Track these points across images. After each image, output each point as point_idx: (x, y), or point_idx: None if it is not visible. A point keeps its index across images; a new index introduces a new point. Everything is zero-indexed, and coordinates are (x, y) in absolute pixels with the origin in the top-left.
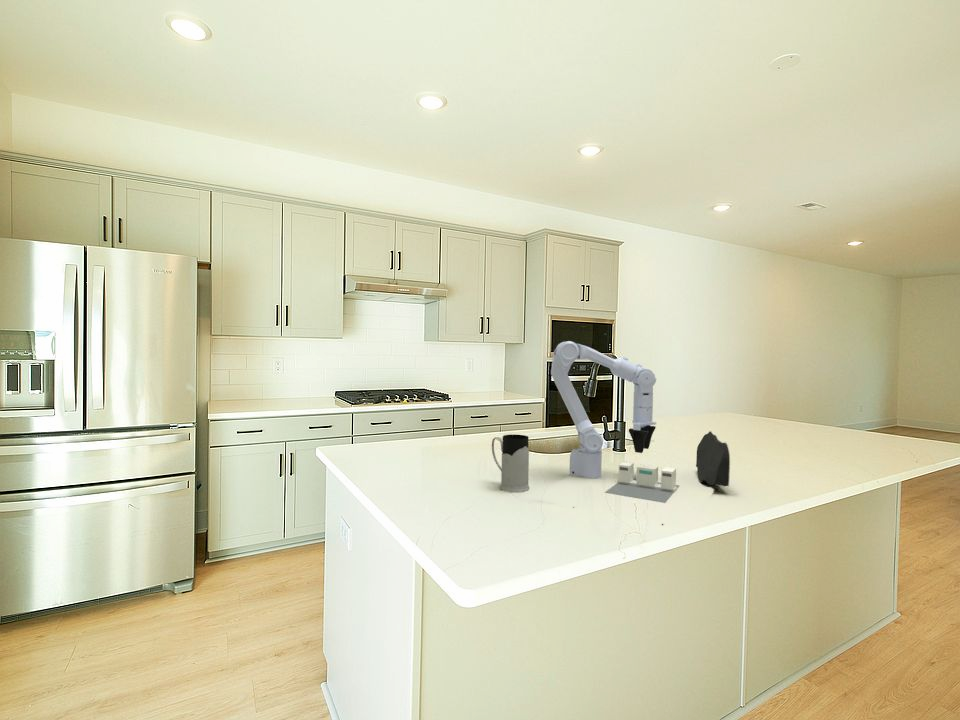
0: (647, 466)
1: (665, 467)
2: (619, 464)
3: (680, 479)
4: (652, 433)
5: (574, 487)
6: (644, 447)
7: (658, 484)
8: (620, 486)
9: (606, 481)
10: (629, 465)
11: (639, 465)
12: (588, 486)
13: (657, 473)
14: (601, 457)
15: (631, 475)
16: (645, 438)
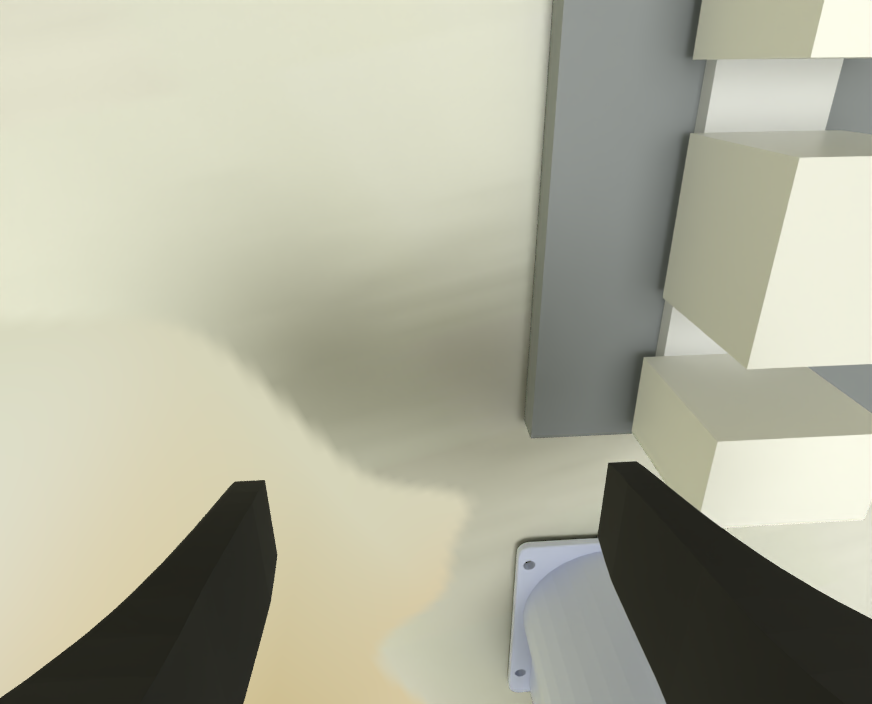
0: (853, 272)
1: (829, 47)
2: (852, 519)
3: (88, 2)
4: (70, 680)
5: (837, 587)
6: (268, 534)
7: (729, 116)
8: (838, 380)
9: (601, 508)
10: (867, 438)
11: (830, 360)
12: (783, 543)
13: (776, 146)
14: (656, 698)
15: (734, 377)
16: (758, 611)
